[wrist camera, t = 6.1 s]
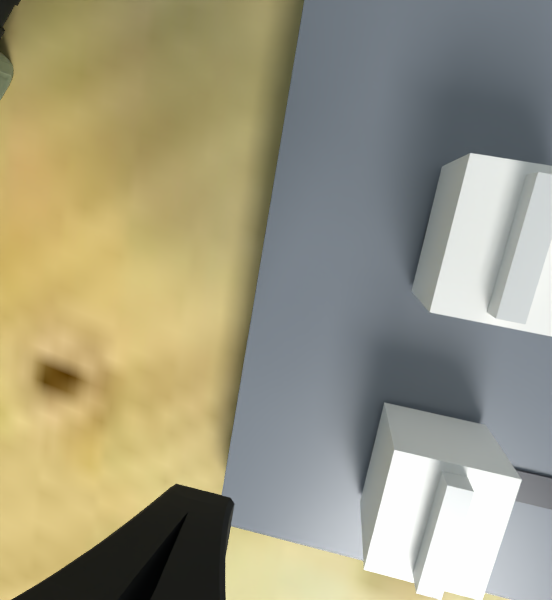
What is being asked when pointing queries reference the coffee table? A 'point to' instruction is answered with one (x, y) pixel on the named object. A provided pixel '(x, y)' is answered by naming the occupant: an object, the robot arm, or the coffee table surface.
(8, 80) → the handheld radio
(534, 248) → the middle tab
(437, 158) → the switch panel
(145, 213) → the coffee table surface
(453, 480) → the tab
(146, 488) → the coffee table surface
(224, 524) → the robot arm
